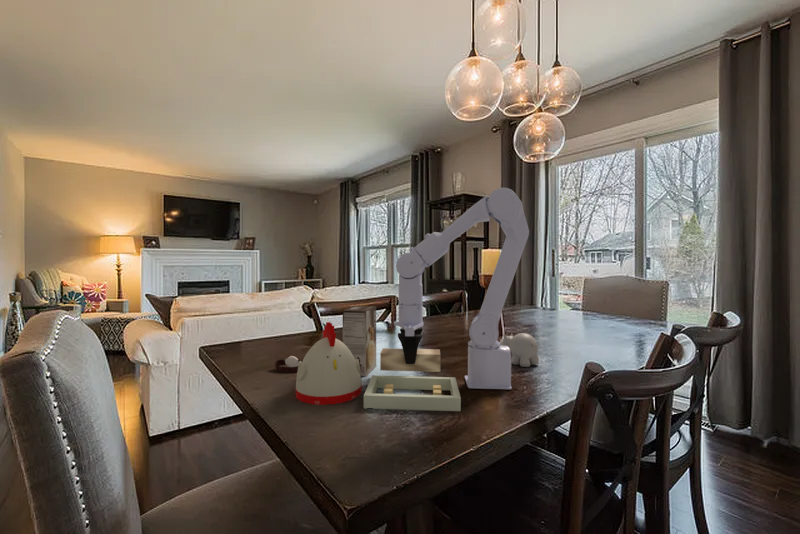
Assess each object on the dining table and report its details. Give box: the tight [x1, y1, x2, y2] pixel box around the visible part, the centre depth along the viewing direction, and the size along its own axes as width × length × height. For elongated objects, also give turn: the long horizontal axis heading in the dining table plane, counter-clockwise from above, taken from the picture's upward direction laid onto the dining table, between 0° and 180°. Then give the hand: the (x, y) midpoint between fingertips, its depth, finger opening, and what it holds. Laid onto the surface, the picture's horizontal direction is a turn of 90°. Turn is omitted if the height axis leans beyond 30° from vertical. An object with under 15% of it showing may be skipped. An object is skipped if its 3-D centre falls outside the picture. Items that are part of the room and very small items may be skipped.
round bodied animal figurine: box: [499, 332, 540, 368], centre depth 105 cm, size 7×12×8 cm, turn 30°
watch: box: [274, 355, 303, 373], centre depth 97 cm, size 8×5×4 cm, turn 84°
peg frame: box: [363, 374, 462, 412], centre depth 78 cm, size 18×12×2 cm
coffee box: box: [342, 305, 377, 377], centre depth 97 cm, size 9×6×16 cm
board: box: [379, 347, 441, 373], centre depth 91 cm, size 14×5×4 cm, turn 86°
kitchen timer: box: [295, 321, 363, 406], centre depth 81 cm, size 14×14×15 cm
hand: (410, 360), depth 91 cm, fingers closed on board, 5 cm apart
